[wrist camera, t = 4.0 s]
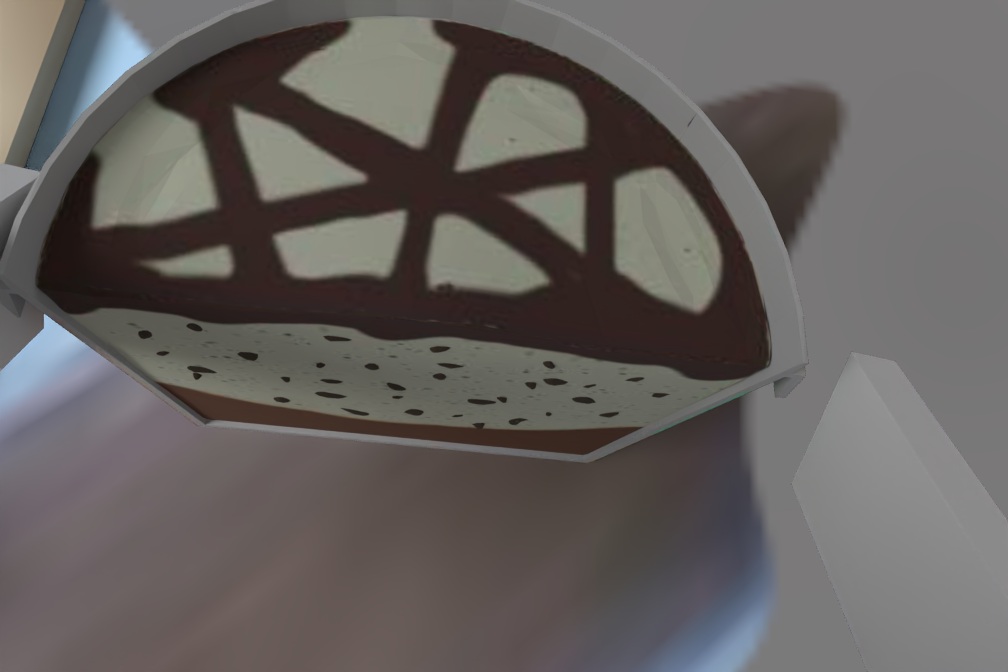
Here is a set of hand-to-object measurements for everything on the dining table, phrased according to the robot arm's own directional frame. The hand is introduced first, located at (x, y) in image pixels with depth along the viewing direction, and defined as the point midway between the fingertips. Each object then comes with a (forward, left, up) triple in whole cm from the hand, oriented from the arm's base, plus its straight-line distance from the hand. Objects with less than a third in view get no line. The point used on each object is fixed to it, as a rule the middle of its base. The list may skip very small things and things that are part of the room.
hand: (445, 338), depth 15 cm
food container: (-1, +3, -8) cm, 8 cm away
